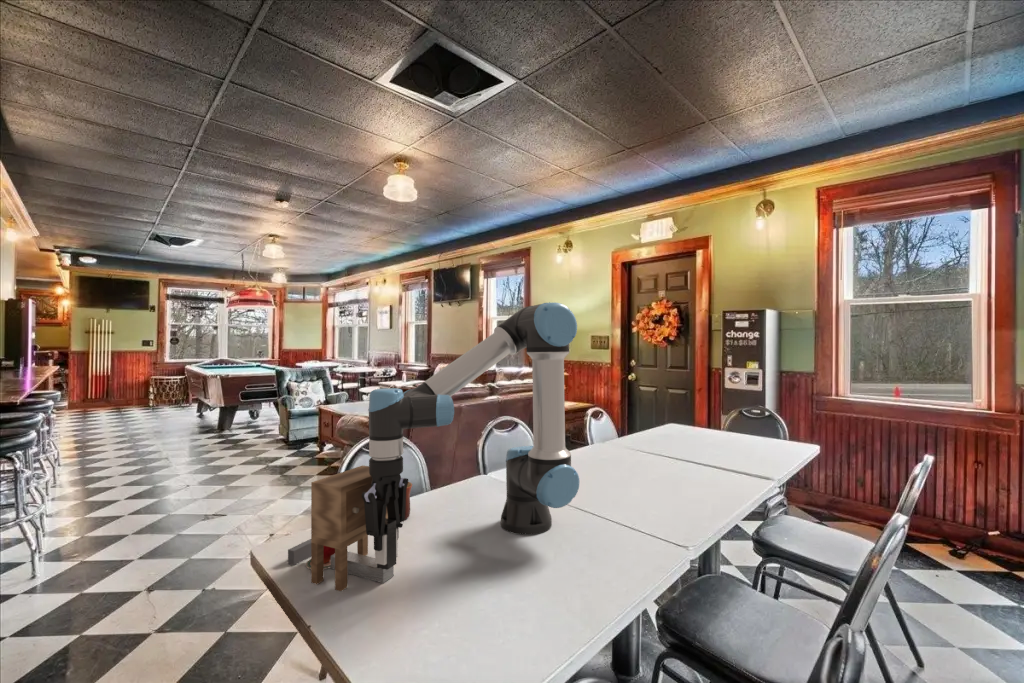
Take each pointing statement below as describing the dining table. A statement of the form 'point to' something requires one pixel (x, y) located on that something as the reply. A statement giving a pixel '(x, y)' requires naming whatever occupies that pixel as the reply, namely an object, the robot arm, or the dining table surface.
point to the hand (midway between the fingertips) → (386, 559)
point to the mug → (408, 500)
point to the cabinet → (338, 520)
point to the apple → (325, 557)
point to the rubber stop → (299, 553)
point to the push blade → (367, 565)
